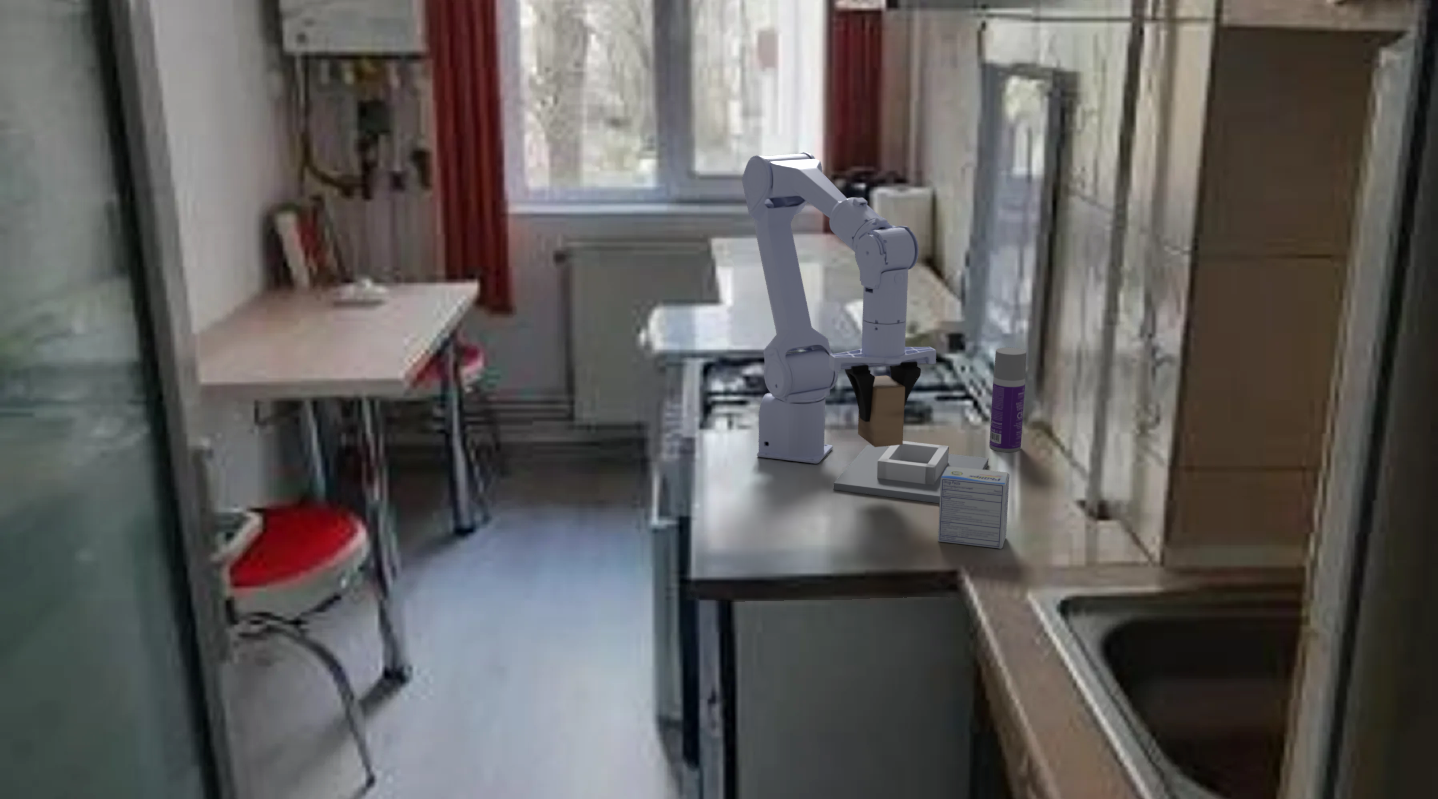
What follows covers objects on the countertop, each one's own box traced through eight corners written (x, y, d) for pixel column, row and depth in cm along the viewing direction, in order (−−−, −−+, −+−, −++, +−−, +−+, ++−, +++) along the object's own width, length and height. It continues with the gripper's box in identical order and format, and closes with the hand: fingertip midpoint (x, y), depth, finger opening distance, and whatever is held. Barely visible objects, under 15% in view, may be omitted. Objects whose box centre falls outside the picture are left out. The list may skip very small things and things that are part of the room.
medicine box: (1006, 537, 158) (1010, 471, 156) (1002, 550, 154) (1006, 483, 152) (943, 529, 160) (946, 464, 158) (937, 542, 156) (940, 476, 154)
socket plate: (833, 489, 174) (834, 465, 173) (867, 450, 190) (868, 428, 189) (964, 506, 168) (965, 481, 167) (988, 464, 184) (989, 441, 183)
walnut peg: (857, 433, 174) (859, 377, 172) (884, 431, 175) (887, 375, 173) (874, 447, 169) (876, 389, 166) (902, 444, 170) (905, 386, 167)
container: (1021, 453, 189) (1027, 355, 185) (989, 451, 190) (994, 354, 186) (1020, 443, 194) (1026, 347, 189) (989, 441, 195) (994, 346, 190)
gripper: (843, 329, 162) (841, 431, 165) (948, 322, 165) (943, 422, 169) (824, 318, 168) (822, 416, 172) (925, 311, 172) (920, 407, 176)
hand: (880, 418), depth 171 cm, fingers closed on walnut peg, 4 cm apart
